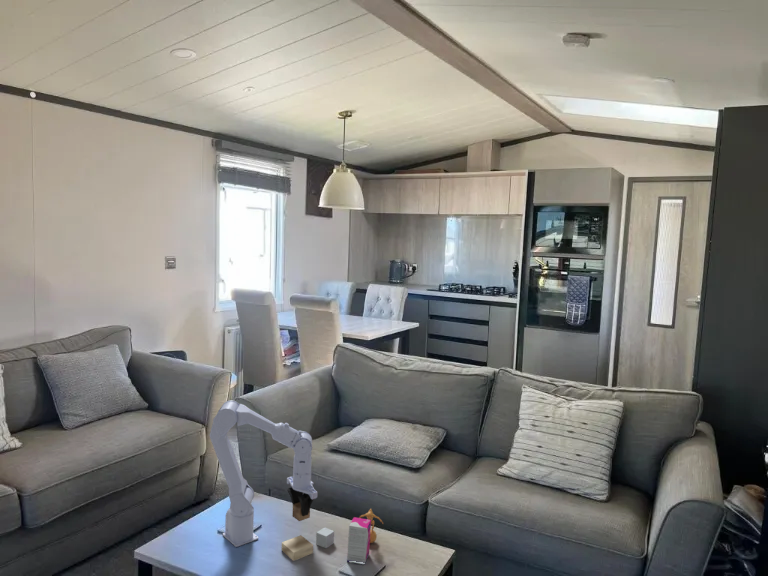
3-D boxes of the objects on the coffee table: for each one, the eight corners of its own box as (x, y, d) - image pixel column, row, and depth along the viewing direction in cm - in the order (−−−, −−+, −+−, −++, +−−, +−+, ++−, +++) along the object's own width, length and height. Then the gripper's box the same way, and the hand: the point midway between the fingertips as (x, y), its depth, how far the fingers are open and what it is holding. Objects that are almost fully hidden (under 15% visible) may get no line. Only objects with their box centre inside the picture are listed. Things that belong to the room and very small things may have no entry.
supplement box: (365, 565, 164) (367, 528, 164) (346, 562, 166) (347, 525, 165) (370, 554, 170) (371, 519, 169) (351, 551, 171) (352, 516, 170)
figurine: (383, 540, 179) (385, 504, 178) (381, 550, 173) (382, 513, 172) (358, 537, 180) (360, 502, 179) (355, 547, 174) (356, 510, 173)
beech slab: (281, 551, 171) (281, 542, 170) (300, 544, 175) (301, 535, 175) (293, 562, 165) (293, 552, 165) (313, 554, 170) (313, 544, 170)
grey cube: (316, 544, 175) (316, 532, 174) (324, 539, 178) (324, 527, 178) (326, 548, 173) (326, 536, 172) (333, 543, 176) (334, 531, 176)
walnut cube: (292, 516, 178) (292, 504, 178) (302, 512, 181) (303, 500, 181) (299, 521, 175) (299, 509, 175) (309, 517, 178) (310, 505, 178)
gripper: (325, 475, 174) (324, 517, 175) (299, 461, 185) (298, 500, 186) (307, 481, 169) (305, 524, 170) (281, 466, 180) (280, 506, 181)
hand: (300, 512), depth 178 cm, fingers closed on walnut cube, 4 cm apart
